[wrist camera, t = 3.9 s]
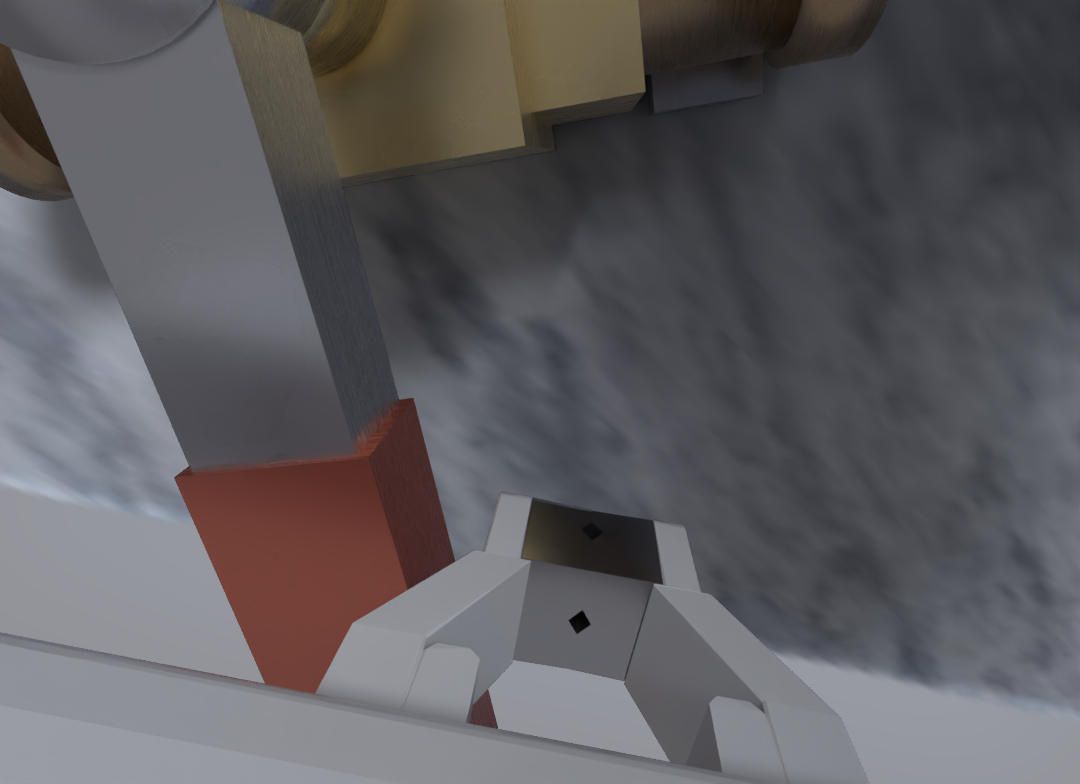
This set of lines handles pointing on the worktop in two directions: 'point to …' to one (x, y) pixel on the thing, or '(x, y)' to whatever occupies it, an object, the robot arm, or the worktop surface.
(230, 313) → the lever
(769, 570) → the worktop surface
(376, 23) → the valve fixture
